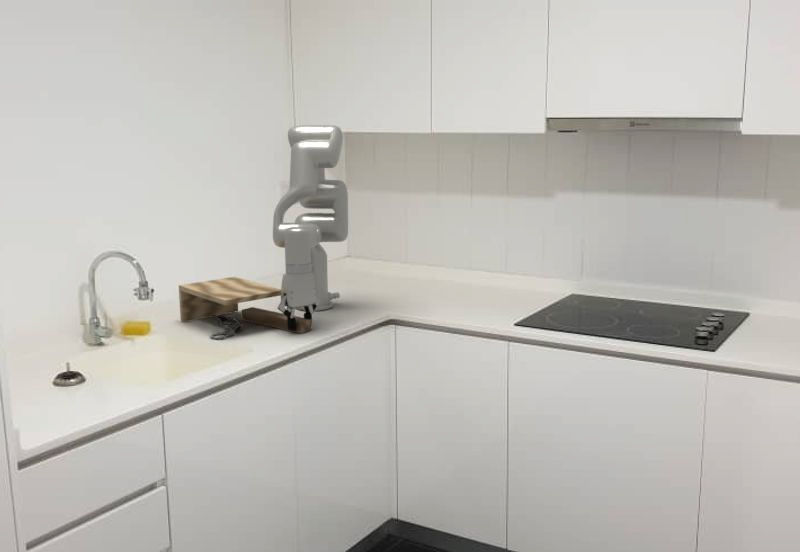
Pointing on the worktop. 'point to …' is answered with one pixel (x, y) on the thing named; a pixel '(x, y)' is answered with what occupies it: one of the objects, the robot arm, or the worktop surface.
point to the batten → (275, 319)
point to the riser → (219, 296)
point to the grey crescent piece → (230, 324)
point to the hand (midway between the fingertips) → (300, 327)
